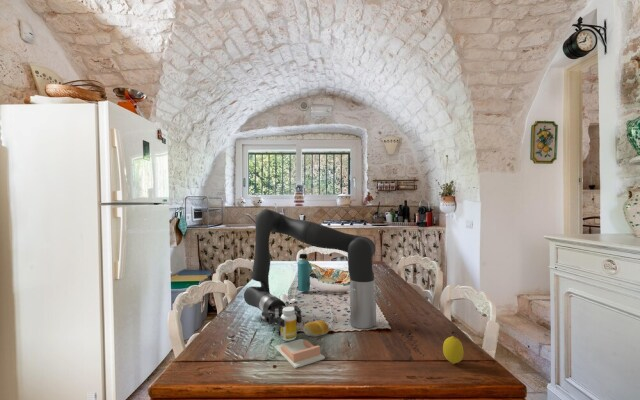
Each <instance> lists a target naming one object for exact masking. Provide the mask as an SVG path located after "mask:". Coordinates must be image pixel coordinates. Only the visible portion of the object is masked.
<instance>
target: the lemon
mask: <svg viewBox="0 0 640 400" xmlns="http://www.w3.org/2000/svg"><path fill="white" fill-rule="evenodd" d="M442 353H443V356H444V357H445V359H446V360H447V361H448V362H450V363H451V364H452V365H455V364H457V363H460V362H461V361H462V360H463V358H464V354H465V353H464V346H463V344H462V342H461V340H460V339H458V338H457V337H455V336H453V335H452V336H449V337H447V338H446V339H444V341H443V344H442Z"/></svg>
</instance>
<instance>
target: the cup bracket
mask: <svg viewBox="0 0 640 400" xmlns="http://www.w3.org/2000/svg"><path fill="white" fill-rule="evenodd" d="M274 349H276V350H277V352H278V353H280V354H281V356H282V357H283V358H284V359H286V360H287V362H289V364H291V366H292V367H293V368H294V369H296V368H300V367H304V366H306V365H309V364H312V363H316V362H318V361H323V360H325V359H326V357H325V356H324V354H321V346H320V345H313V344H312V343H311V342H310V341H309V340H308V339H303V338H299V339H294V340H290V341H289V342H283V343H281V344H277V345H274Z"/></svg>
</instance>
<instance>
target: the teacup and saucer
mask: <svg viewBox="0 0 640 400" xmlns="http://www.w3.org/2000/svg"><path fill="white" fill-rule="evenodd" d="M280 297H281V298H280ZM278 298H279V299H280V300H282V301H283V302H284V303H285V302H287V303H288V304H290V303H292V304H294V303H296V301H297V300H296V299H295V298H290V299H289V294H288V293H282V294H281V295H279V296H278ZM285 304H286V303H285Z"/></svg>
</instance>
